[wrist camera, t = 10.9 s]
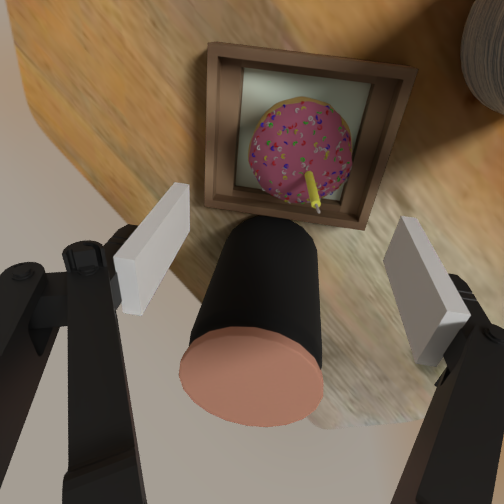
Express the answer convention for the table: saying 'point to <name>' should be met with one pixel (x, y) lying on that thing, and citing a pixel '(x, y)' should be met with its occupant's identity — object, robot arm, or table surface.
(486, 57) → the vase
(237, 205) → the walled box
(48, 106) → the table surface
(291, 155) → the cupcake
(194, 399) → the coffee jar
